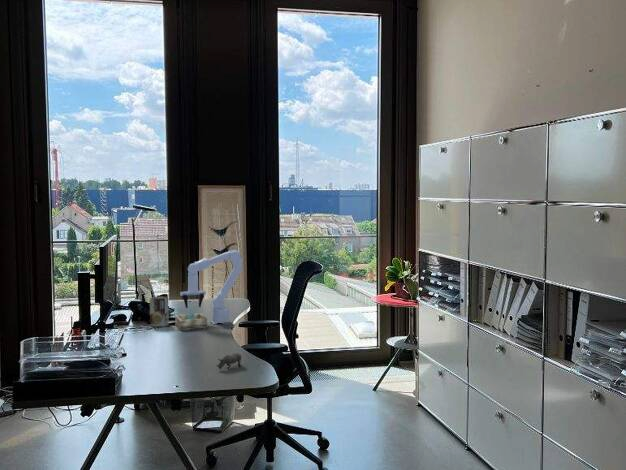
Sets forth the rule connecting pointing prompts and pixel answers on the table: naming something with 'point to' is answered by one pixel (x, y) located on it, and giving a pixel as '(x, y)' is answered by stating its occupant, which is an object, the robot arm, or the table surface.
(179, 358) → the table surface
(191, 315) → the peg
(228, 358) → the rhino figurine
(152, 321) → the coffee box
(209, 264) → the robot arm
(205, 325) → the box
